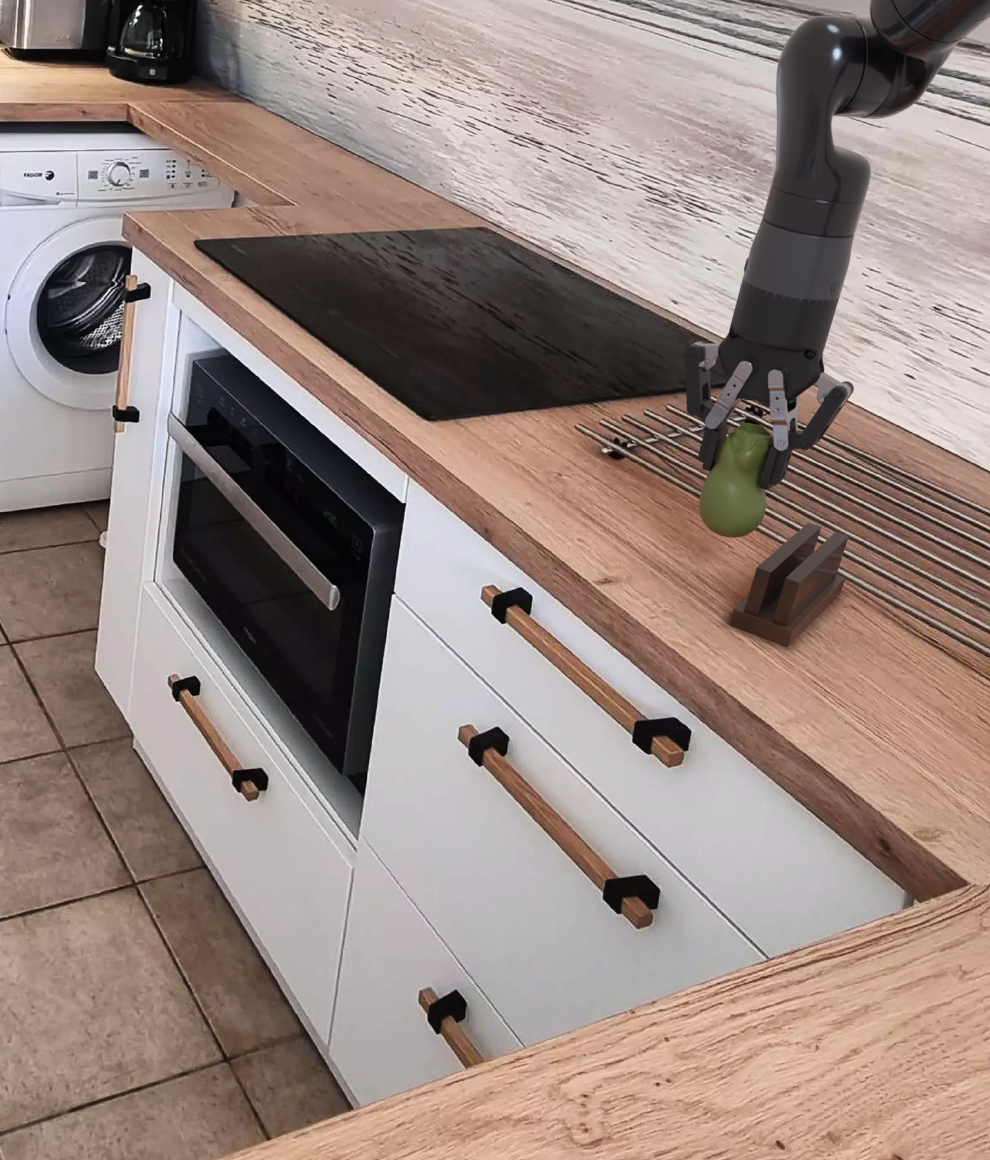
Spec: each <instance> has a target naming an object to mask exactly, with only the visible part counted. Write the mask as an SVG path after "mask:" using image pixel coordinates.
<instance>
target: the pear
mask: <svg viewBox="0 0 990 1160" xmlns="http://www.w3.org/2000/svg"><path fill="white" fill-rule="evenodd" d="M772 446H774V442H773V434H772V433H770V432H769V431H768V430H767V429H766V428H765V427H764V426H762V425H759V424H754V423H751V422H747V423H746V422H745V421H741V423H740V424H739V425H738V427H734V429H733V432H731V433H729V434H727V436H726V439H725V441H724V442H723V444H722V446H721V449H720V454H719V458H718V461H717V462H716V464H715V465H714V466H713V467H712V469H711V471H708V473H707V475H706V478H705V480H704V482H703V485H702V487H701V490H700V495H699V501H698V507H699V508H698V509H699V510H698V511H699V516H700V519H701V521H702V522H703V524H704V525H705V526H706V528H707V529H708V530H710V531H711V532H712V533H714V534H716V535H718V536H720V537H724V538H731V539H732V538H733V539H734V538H735V539H736V538H742V537H746V536H748V535H750V534H752V533H753V532H754V531H755V530H757V528H758V527H759V526H760V524H761V523H762V522H763V520H764V517H765V515H766V510H767V509H766V508H767V496H766V495H767V494H766V490H765V489H762V488H759V484H760V481H761V477H762V474H763V470H764V467H765V464H766V460H767V457H768V453H769V450H770V448H771V447H772Z"/></svg>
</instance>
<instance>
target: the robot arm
mask: <svg viewBox="0 0 990 1160" xmlns="http://www.w3.org/2000/svg"><path fill="white" fill-rule="evenodd" d="M869 17H870V18H861V17H860V18H858V17H848V16H841V15H839V16H838V15H830V14H829V15H817V16H813V17H811V18H808V19H806V20H805V21H803V22H802V23H801V24H800V25H798V26H797V28H796V29H795V30H794V31H792V33H791V35H790V36H789V38H788V39H787V40H786V42H785V44H784V46H783V48H782V49H781V53H780V55H779V60H778V63H777V68H776V74H775V75H776V76H775V77H776V78H775V79H776V80H775V96H776V97H775V100H776V136H775V137H776V138H775V144H776V145H775V146H776V147H775V165H774V166H775V167H774V173H773V176H772V178H771V179H772V180H771V184H770V188H769V191H768V195H767V200H766V203H765V206H764V211H763V214H762V218H761V219H760V220H761V221H760V223H759V226H758V229H757V230H756V233H755V236H754V237H753V241H752V244H751V247H750V249H749V253H748V257H747V258H746V260H745V263H744V267H743V277H742V280H741V283H740V288H739V292H738V294H737V298H736V302H735V307H734V310H733V314H732V318H731V321H730V325H729V330H728V333H727V335H726V336H725V337H724V339H723V340H722V341H721V342H720V343H708V342H707V341H706V340H698V341H696V342H694V343H692V344H691V345H689V346H687V347H686V348H685V350H684V370H685V371H684V374H685V397H686V399H685V400H686V412H687V413H688V414H689V416H691V417H697V418H698V419H700V420H701V421H702V422H703V423H704V432H703V436H702V440H701V444H700V448H699V451H698V455H697V456H698V461H699V462H701V463H702V466H701V470H703V471H707V472H710V471H711V469H712V467H713V466H714V465H715V464H716V462H717V461H718V458H719V454H720V449H721V446H722V444H723V442H724V441H725V439H726V438H727V436H728V433H729V429H730V426H729V425H727V422H728V420H729V419H730V418H731V417H732V414H733V413H734V412H735V410H736V409H737V407H738V405H739V404H740V403H741V402H742V401H743V400H744V401H756V402H757V403H759V404H760V405H762V406H764V407H767V408H769V415H770V423H771V424H772V435H773V442H774V446H772V447H771V448H770V450H769V453H768V457H767V460H766V464H765V467H764V470H763V474H762V477H761V481H760V484H759V488H762V489H765V491H769V490H770V489H772V488H773V487H775V486H777V485H778V484H780V483H781V482H782V481H783V480H784V479H785V477H786V475H787V471H788V467H789V465H790V461H791V457H792V456H793V455H792V454H793V451H794V450H801V451H802V450H803V451H808V450H810V449H811V448H812V447H814V446H815V445H817V443H819V442H820V441H821V440H822V438H823V437H824V436H825V434H826V432H827V431H828V429H829V428H830V426H831V425H832V424H833V422H834V421H835V420H836V418H837V416H838V415H839V413H840V412H841V410H842V409H843V408H844V406H845V405H846V403H847V402H848V400H849V399H850V397H851V396H852V395H853V393H854V391H855V387H854V384H853V383H852V382H851V381H848V380H845V381H842V382H841V381H839V380H838V379H836V378H834V377H833V376H831V375H830V374H828V373H826V372H825V363H824V358H823V357H824V351H825V348H826V345H827V341H828V338H829V335H830V331H831V328H832V324H833V321H834V317H835V314H836V311H837V307H838V304H839V300H840V297H841V293H842V290H843V288H844V283H845V280H846V276H847V275H848V274H847V273H848V271H849V270H848V269H849V265H850V261H851V255H852V248H853V242H854V238H855V233H856V230H857V228H858V223H859V221H860V218H861V214H862V211H863V207H864V205H865V204H864V203H865V200H866V197H867V194H868V190H869V186H870V182H871V179H872V165H871V164H870V162H869V160H868V159H867V158H866V157H865V156H864V155H862V154H860V153H858V152H856V151H853V150H850V149H848V148H845V147H842V146H838V145H835V142H834V138H833V127H832V123H833V117H841V118H853V119H868V120H880V119H886V118H891V117H893V116H896V115H898V114H900V113H902V112H904V111H906V110H908V109H909V108H911V107H912V106H913V105H915V104H916V103H917V102H918V101H919V100H920V99H921V98H922V97H923V95H924V94H925V93H926V91H927V90H928V88H929V86H930V85H931V84H932V82H933V81H934V79H935V77H936V76H937V75H938V73H939V71H940V70H941V69H942V67H943V66H944V64H945V63H946V62H947V60H948V58H949V57H950V56H951V54H952V52H953V51H954V49H955V47H956V46H957V45H958V43H959V42H961V41H962V40H964V39H965V38H966V37H967V36H968V35H970V34H971V33H972V32H974V31H975V30H976V29H977V28H979V27H980V26H981V25H982V24H983V23H984V22H986V21H987V20H988V19H990V0H869ZM718 358H719V361H720V363H721V366H722V370H723V371H724V374H725V377H726V379H727V383H726V384H725V386H724V387H723V389H722V391H721V392H720V393H719V395H718V397H717V398H716V400H715V403H714V402H713V401H712V385H711V383H712V382H711V368H713V367H714V366H715V365H716V363H717V359H718ZM814 385H815V386H816V387H817V390H818V392H817V394H816V401H817V403H818V404H820V406H819V407H818V408H817V410H816V412H815V413H814V415H813V416H812V417H811V419H810V420H809V422H808V424H807V425H806V427H805V428H804V429H803V430H799V426H798V425H799V424H798V418H799V413H800V395H802V394H803V393H805V391H807V390H809V389H810V388H811V387H813V386H814Z"/></svg>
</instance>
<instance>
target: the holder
mask: <svg viewBox="0 0 990 1160" xmlns="http://www.w3.org/2000/svg"><path fill="white" fill-rule="evenodd" d="M821 530H822V526H820V525H817V524H814V523H811V522H807V523H806V524H804V526H803V527H801V528H800V529H799V530H798V531H797V532H795V534H794V535H792V536H791V537H789V538H788V540H786V541H785V542H784V543H783V544H782V545H781V546H779V547H778V548H777V549H776V550H775V551H773V552H772V553H771V554H770V555H769V556H768V557H766V559H764V560H763V561H762V562H761V563H760V564H759V565H758V566H757V567H756V568H755V571H754V575H753V579H752V582H751V585H750V588H749V592H748V595H747V596H746V597H745V599H743V600H742V602H740V603H739V604H738V605H736V607H735V608H733V611H732V615H731V617H730V621H729V624H728V625H729V626H732V627H734V628H737V629H739V630H742V631H745V632H747V633H750V634H753V635H754V636H758V637H760V638H763V639H765V640H767V641H768V640H769V641H771V642H773V643H776V644H779V645H781V646H784V647H787V648H789V646H790V645H792V644H793V642H794V641H795V640H796V639H797V638H798V637H799V636H800V635H801V634H802V633H803V632H804V631H805V630H806V629H807V628H809V626H810V624H812V623H813V622H814V621H815V620H816V619H817V618H818V616H819V615H821V613H823V612H824V611H825V609H827V607H828V606H830V604H831V603H833V601H835V599H836V598H837V597H838V596H839V595H840V594H841V593H842V591H843V587H844V584H845V581H846V577H844V576H841V575H838V571H839V569H840V565H841V562H842V560H843V555H844V553H845V549H846V546H847V543H848V541H849V535H847V534H844V533H840V532H839V531H835V532H833V534H831V535H830V536H829V537H828V538H827V539H826V540H825V541H824V542H823V543H822V544H821V545H819V546H818V547H817V548H816V546H817V544H818V540H819V537H820V533H821Z"/></svg>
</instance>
